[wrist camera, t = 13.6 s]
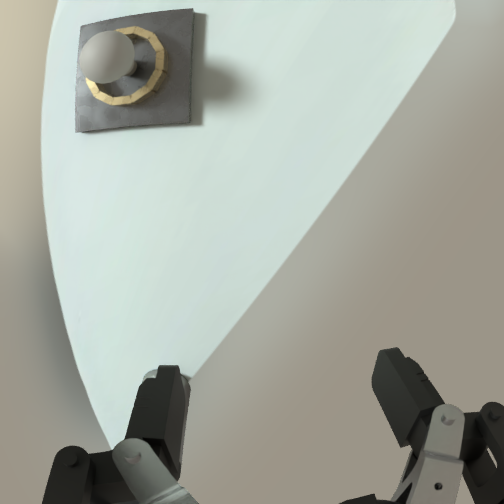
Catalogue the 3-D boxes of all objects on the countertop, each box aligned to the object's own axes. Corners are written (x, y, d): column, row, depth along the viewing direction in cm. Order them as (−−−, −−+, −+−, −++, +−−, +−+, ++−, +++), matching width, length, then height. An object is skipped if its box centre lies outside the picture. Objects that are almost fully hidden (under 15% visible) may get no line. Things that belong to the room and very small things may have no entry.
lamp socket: (190, 122, 38) (185, 121, 34) (80, 132, 37) (66, 133, 33) (194, 12, 32) (190, 1, 28) (85, 28, 31) (73, 21, 27)
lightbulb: (150, 42, 32) (122, 16, 22) (154, 84, 34) (125, 70, 24) (107, 54, 32) (68, 35, 22) (110, 95, 34) (71, 87, 24)
